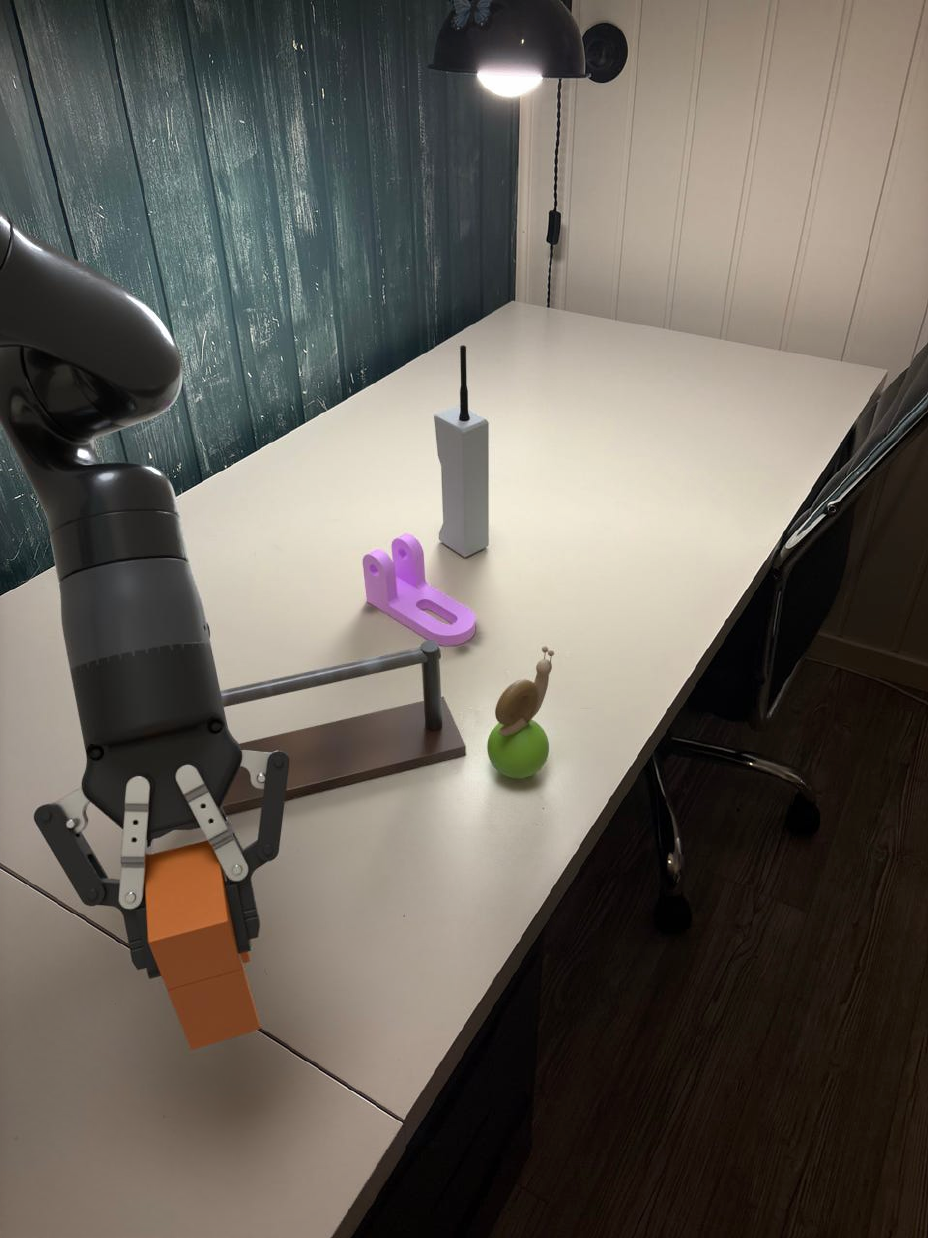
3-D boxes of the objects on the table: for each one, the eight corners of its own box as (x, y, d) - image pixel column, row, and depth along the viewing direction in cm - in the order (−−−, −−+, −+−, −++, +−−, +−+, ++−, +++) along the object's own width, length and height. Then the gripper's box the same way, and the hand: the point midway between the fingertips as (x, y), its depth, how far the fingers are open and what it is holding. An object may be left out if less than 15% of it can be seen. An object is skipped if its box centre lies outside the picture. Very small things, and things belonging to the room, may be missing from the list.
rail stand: (198, 822, 78) (170, 732, 71) (191, 764, 83) (165, 675, 77) (466, 755, 84) (464, 666, 77) (444, 704, 89) (440, 617, 82)
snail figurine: (567, 762, 83) (575, 662, 75) (519, 801, 79) (521, 700, 72) (523, 731, 86) (526, 632, 78) (474, 768, 82) (473, 668, 75)
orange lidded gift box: (190, 1050, 53) (147, 943, 46) (183, 966, 57) (142, 855, 50) (260, 1030, 54) (228, 921, 47) (248, 948, 58) (216, 837, 51)
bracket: (366, 601, 102) (361, 549, 98) (403, 579, 105) (399, 528, 101) (449, 653, 95) (447, 599, 90) (486, 628, 98) (485, 575, 94)
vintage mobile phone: (462, 530, 113) (457, 332, 97) (488, 547, 110) (488, 345, 94) (438, 541, 111) (430, 341, 96) (465, 559, 108) (461, 355, 92)
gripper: (-16, 674, 46) (47, 1021, 44) (269, 618, 49) (337, 939, 48) (22, 685, 53) (78, 983, 51) (268, 635, 56) (327, 914, 55)
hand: (202, 960), depth 50 cm, fingers closed on orange lidded gift box, 4 cm apart
